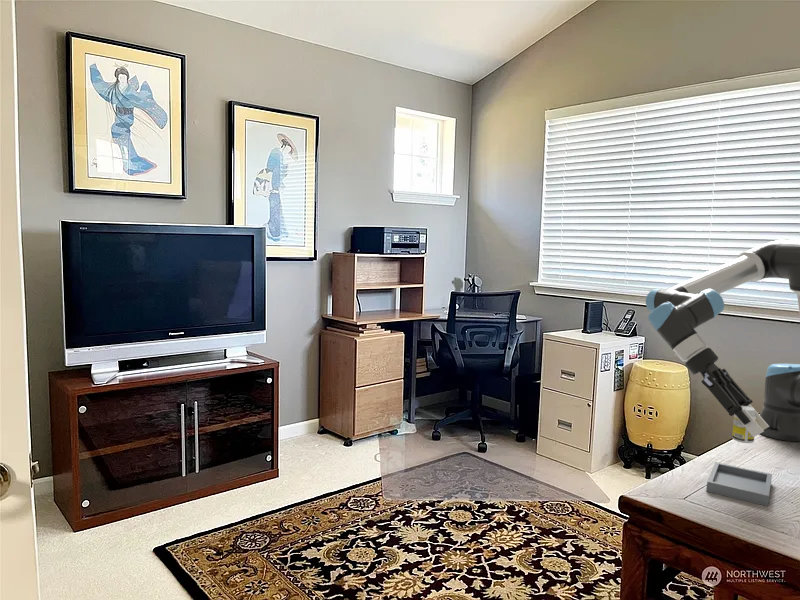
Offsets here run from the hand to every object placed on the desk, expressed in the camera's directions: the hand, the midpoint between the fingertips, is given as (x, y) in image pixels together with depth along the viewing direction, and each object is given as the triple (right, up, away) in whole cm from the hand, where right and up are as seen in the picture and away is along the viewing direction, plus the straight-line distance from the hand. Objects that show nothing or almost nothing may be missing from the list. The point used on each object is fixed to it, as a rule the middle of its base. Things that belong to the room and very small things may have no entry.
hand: (761, 431), depth 146 cm
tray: (-3, -15, +4) cm, 16 cm away
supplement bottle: (-3, -3, +3) cm, 5 cm away
